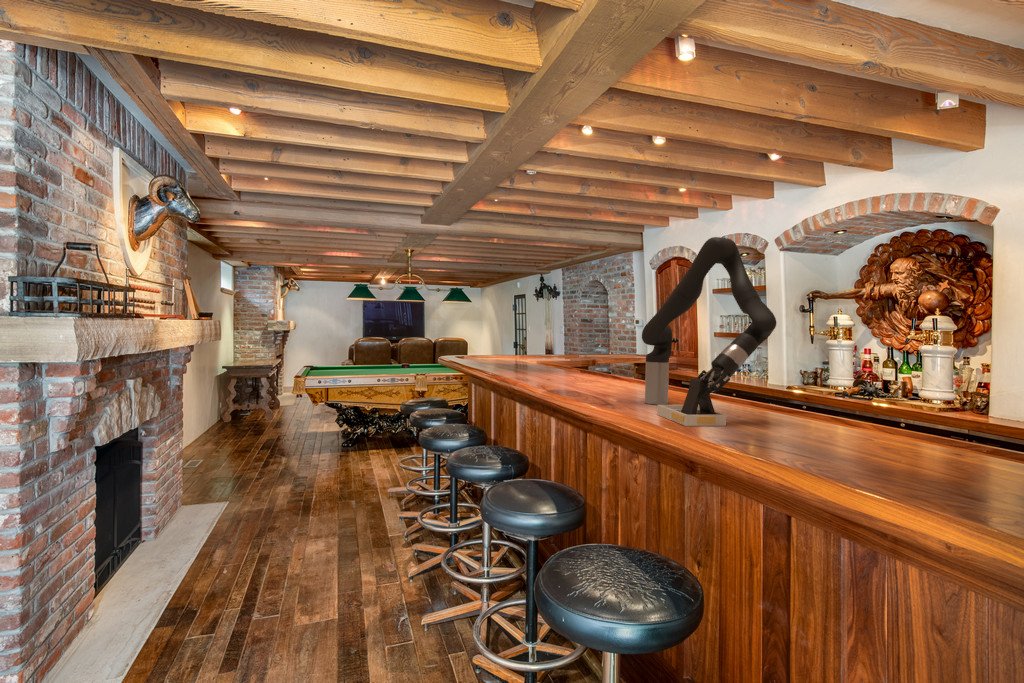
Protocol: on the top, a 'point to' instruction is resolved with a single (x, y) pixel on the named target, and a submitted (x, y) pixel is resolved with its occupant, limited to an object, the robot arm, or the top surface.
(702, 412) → the door stopper
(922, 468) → the top surface
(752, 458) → the top surface
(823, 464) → the top surface
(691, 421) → the tray
